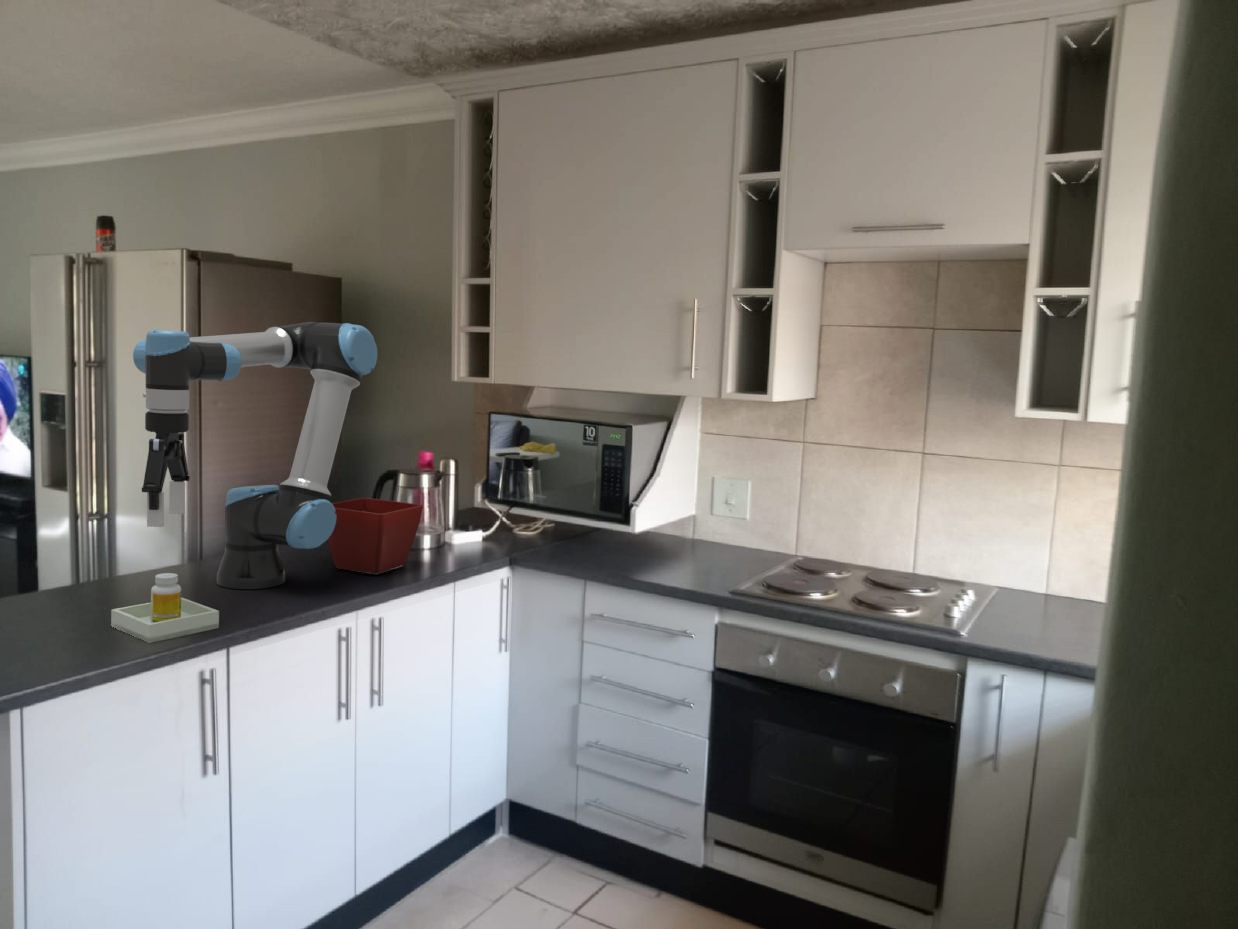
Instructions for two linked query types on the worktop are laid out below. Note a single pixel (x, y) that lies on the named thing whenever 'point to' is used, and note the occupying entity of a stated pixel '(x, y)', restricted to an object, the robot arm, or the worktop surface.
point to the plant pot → (373, 534)
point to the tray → (140, 626)
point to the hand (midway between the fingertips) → (166, 520)
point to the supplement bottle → (165, 598)
